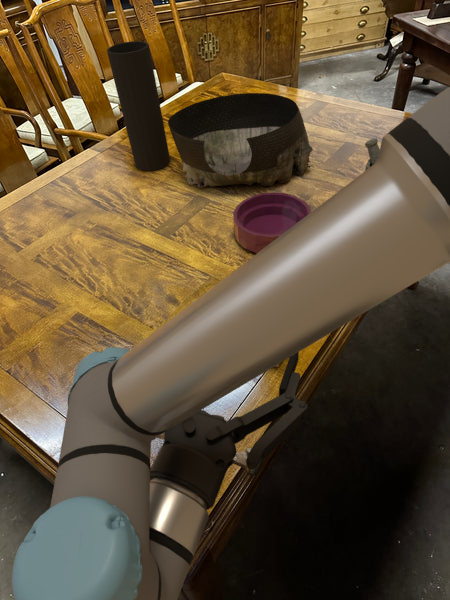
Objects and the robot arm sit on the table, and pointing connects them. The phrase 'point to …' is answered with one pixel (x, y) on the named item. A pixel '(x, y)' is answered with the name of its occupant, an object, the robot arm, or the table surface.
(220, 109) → the basket
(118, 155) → the table surface
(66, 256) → the table surface
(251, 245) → the bowl
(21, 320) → the table surface
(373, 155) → the mortar and pestle
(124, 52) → the vase
